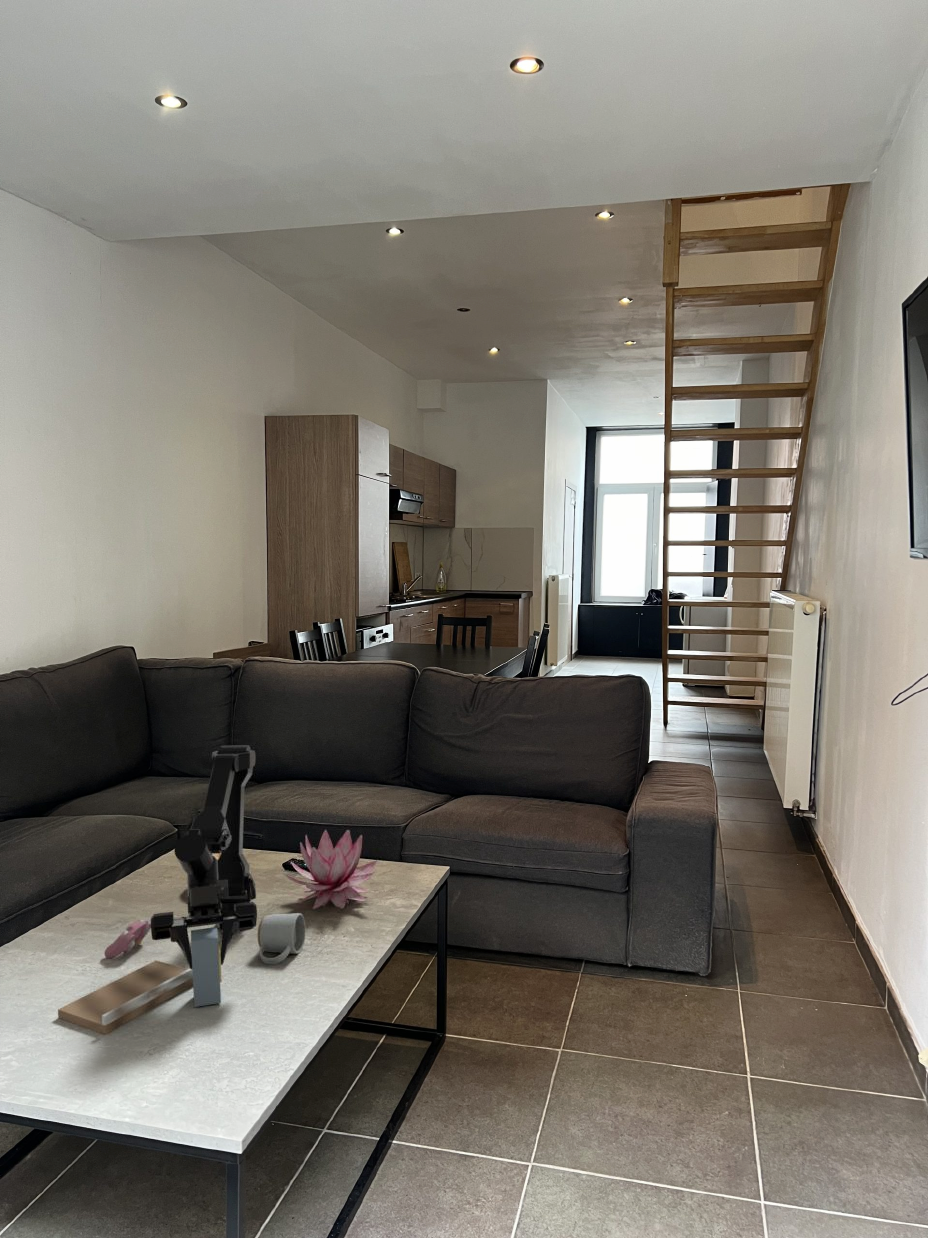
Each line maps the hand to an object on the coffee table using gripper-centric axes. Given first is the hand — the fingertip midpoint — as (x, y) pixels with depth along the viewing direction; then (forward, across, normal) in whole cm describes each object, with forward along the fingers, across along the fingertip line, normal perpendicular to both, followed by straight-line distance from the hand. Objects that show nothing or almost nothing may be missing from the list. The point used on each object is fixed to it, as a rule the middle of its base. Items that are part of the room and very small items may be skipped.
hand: (206, 966), depth 161 cm
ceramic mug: (-7, +15, +17) cm, 24 cm away
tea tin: (+4, 0, +6) cm, 7 cm away
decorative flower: (-24, +29, +35) cm, 52 cm away
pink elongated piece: (-16, -15, +26) cm, 34 cm away
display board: (0, -13, +10) cm, 16 cm away
